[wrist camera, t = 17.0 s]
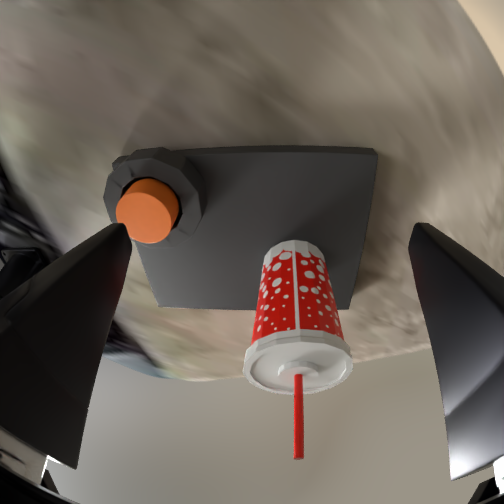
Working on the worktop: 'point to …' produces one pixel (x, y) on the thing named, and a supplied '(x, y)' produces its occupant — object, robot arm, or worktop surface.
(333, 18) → the worktop surface
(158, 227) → the button
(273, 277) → the beverage cup
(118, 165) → the scale
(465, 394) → the robot arm
